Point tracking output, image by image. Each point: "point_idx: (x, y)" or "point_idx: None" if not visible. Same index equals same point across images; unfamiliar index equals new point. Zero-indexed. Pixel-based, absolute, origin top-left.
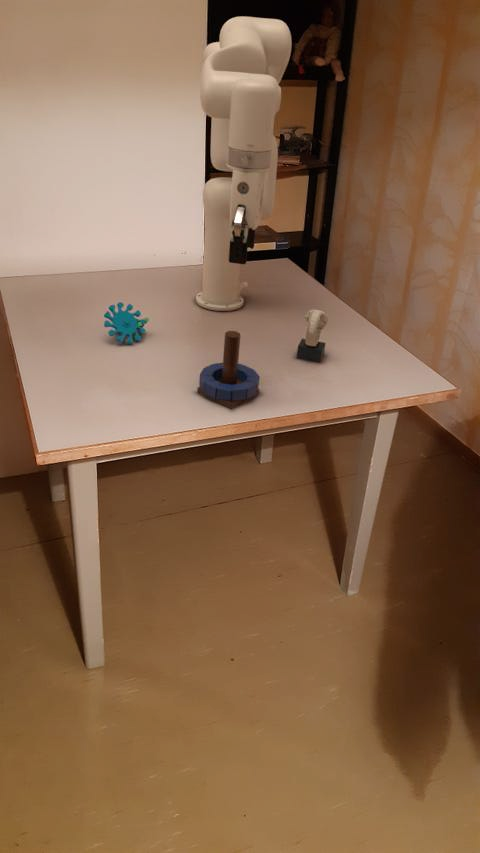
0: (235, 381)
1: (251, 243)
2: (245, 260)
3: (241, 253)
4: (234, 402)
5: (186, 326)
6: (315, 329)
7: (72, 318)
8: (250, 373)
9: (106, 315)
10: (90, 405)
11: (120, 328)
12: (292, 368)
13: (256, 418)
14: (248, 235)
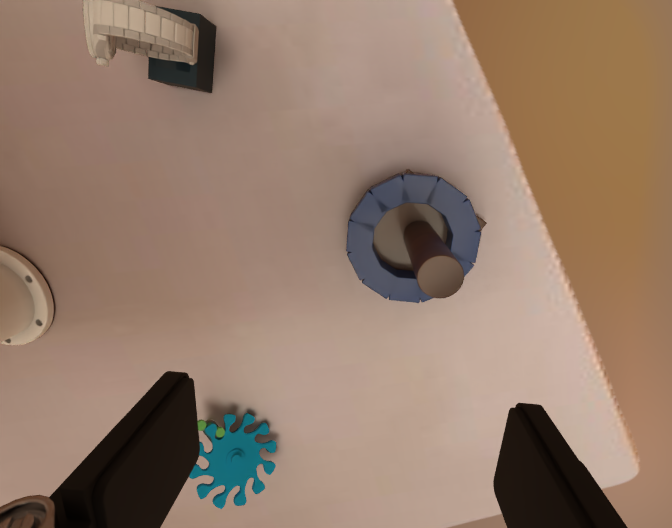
0: (431, 227)
1: (178, 400)
2: (550, 422)
3: (607, 500)
4: (478, 218)
5: (151, 343)
6: (184, 22)
7: (201, 515)
8: (391, 197)
9: (245, 500)
10: (497, 444)
11: (253, 459)
12: (267, 99)
13: (513, 165)
14: (152, 467)
